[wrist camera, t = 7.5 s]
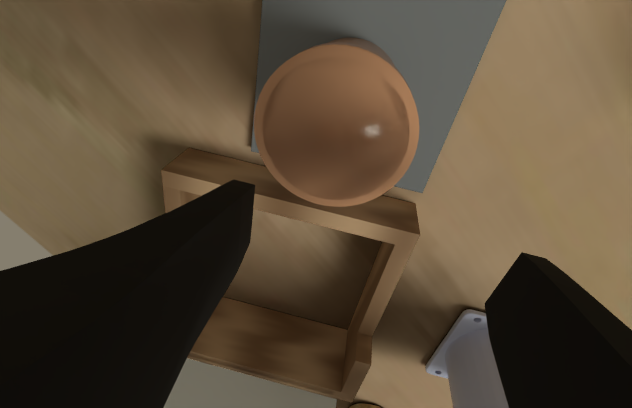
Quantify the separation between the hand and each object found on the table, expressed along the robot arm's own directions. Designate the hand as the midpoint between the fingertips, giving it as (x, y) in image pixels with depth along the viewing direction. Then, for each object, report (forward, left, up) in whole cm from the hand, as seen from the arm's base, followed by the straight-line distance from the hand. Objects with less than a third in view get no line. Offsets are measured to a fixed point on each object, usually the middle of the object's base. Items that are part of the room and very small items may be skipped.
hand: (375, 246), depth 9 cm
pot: (+2, -1, -9) cm, 10 cm away
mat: (+2, -2, -10) cm, 10 cm away
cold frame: (+4, +11, -10) cm, 15 cm away
